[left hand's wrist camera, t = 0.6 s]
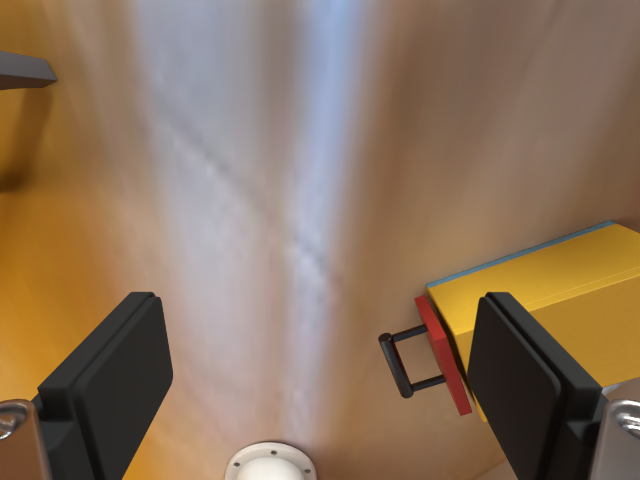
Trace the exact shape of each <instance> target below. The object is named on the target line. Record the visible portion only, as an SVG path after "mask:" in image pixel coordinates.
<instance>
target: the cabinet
mask: <svg viewBox="0 0 640 480" xmlns="http://www.w3.org/2000/svg"><path fill="white" fill-rule="evenodd" d="M426 286H427V289H428V292H429V295H430V298H431V301H432V304H433V307H434V310H435V313H436V316H437V319H438V321H439V323H440V325H441V327H442V329H443V331H444V333H445V334H446V336H447V339H448V342H449V345H450V348H451V351H452V354H453V357H454V360H455V363H456V366H457V369H458V372H459V375H460V377H461V379H462V381H463V383H464V385H465V387H466V389H467V391H468V393H469V395H470V397H471V399H472V401H473V403H474V405H475V407H476V409H477V411H478V413H479V414H480V417H481V418H482V420H483V422H487V419H486V417H485V415H484V413H483V411H482V409H481V407H480V405H479V403H478V401H477V399H476V398H475V396H474V394H473V392H472V390H471V388H470V386H469V384H468V380H467V369H468V363H469V357H470V350H471V344H472V338H473V332H474V326H475V320H476V313H477V307H478V302H479V299H480V297H485V294H486V293H487V292H509V293H510V294H511V295H512V296H513V297H514V298H515V299H516V300H517V301H518V302H519V303H520V304H521V305H522V306H523V307H524V308H525V309H526V310H527V311H528V312H529V313H530V314H531V315H532V316H533V317H534V318H535V319H536V320H537V321H538V322H539V323H540V324H541V325H542V326H543V327H544V328H545V329H546V330H547V331H548V332H549V333H550V334H551V335H552V337H553V338H554V339H555V340H556V341H557V342H558V343H559V344H560V345H561V346H562V347H563V348H564V349H565V350H566V351H567V352H568V353H569V354H570V355H571V356H572V357H573V358H574V359H575V360H576V361H577V362H578V363H579V364H580V365H581V366H582V367H583V368H584V369H585V370H586V371H587V372H588V373H589V374H590V375H591V376H592V377H593V378H594V379H595V380H596V381H597V382H598V383H599V384H600V386H601V387H602V388H603V387H607V386H610V385H613V384H617V383H620V382H624V381H627V380H630V379H634V378H637V377H640V233H638V232H635V231H633V230H631V229H628V228H626V227H623V226H621V225H619V224H617V223H615V222H613V221H607V222H604V223H601V224H599V225H596V226H593V227H590V228H587V229H584V230H581V231H578V232H576V233H573V234H570V235H567V236H564V237H561V238H558V239H555V240H553V241H550V242H547V243H544V244H541V245H538V246H535V247H532V248H530V249H527V250H524V251H521V252H518V253H515V254H512V255H509V256H506V257H504V258H501V259H498V260H495V261H492V262H489V263H486V264H483V265H481V266H478V267H475V268H472V269H469V270H466V271H463V272H460V273H458V274H455V275H452V276H449V277H446V278H443V279H440V280H437V281H435V282H432V283H429V284H426ZM452 334H453V335H452ZM453 336H454V338H455V341H456V344H457V347H458V350H459V353H458V350H457V347H456V344H455V341H454V338H453ZM459 354H460V355H459Z"/></svg>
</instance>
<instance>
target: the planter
mask: <svg viewBox="0 0 640 480" xmlns="http://www.w3.org/2000/svg"><path fill="white" fill-rule="evenodd" d="M56 81H57V79H56V77H55V75H54V74H53V72H52V70H51V69H50V67H49V65H48V63H47V62H46V60H45V59H40V58H35V57H29V56H24V55H19V54H13V53H8V52H2V51H0V90H7V89H18V88H43V87H45V86H47V85H50V84H52V83H54V82H56Z"/></svg>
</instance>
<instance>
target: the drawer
mask: <svg viewBox="0 0 640 480" xmlns="http://www.w3.org/2000/svg"><path fill="white" fill-rule="evenodd" d="M415 302H416V305H417V308H418V310H419V313H420V316H421V319H422V322H423V325H420V326H417V327H414V328H411V329H408V330H405V331H402V332H399V333H396V334H393V335H391V334H390V333H384V334H382V335H380V336H379V338H378V340H379V343H380V345H381V348H382V350H383V352H384V355H385V357H386V360H387V362H388V365H389V367H390V370H391V372H392V374H393V377H394V379H395V382H396V384H397V387H398V389H399V391H400V394H401V396H402V397H403V398H410V397H411V396H412V395H413V394H414V392H415V391H418V390H421V389H424V388H427V387H431V386H434V385H437V384H440V383H444V382H446V384H447V386H448V389H449V391H450V393H451V395H452V398H453V400H454V402H455V404H456V407H457V409H458V411H459V413H460V415H461V416H462V415H465V414H468V413H472V410H471V407H470V404H469V401H468V398H467V395H466V392H465V389H464V386H463V384H462V381H461V378H460V375H459V372H458V369H457V366H456V363H455V360H454V357H453V354H452V351H451V348H450V345H449V342H448V339H447V336H446V334H445V333H444V331H443V329H442V327H441V325H440V323H439V321H438V319H437V318H436V316H435V314H434V312H433V310H432V308H431V306H430V304H429V303H428V301H427V299H426V297H425V295H423V296H420V297H417V298H415ZM425 332H426V333H427V336H428V338H429V341H430V344H431V347H432V350H433V352H434V355H435V358H436V361H437V364H438V366H439V368H440V371H441V373H442V375H439V376H436V377H433V378H430V379H427V380H423V381H420V382H417V383H414V384H411V383H410V381H409V378H408V376H407V373H406V371H405V368H404V366H403V363H402V361H401V358H400V355H399V353H398V350H397V348H396V345H395V343H394V342H397V341H400V340H403V339H406V338H409V337H412V336H415V335H418V334H422V333H425ZM452 335H453V334H452ZM453 338H454V336H453ZM454 341H455V338H454ZM455 344H456V341H455ZM456 347H457V344H456ZM457 350H458V347H457ZM458 353H459V350H458ZM459 355H460V354H459Z"/></svg>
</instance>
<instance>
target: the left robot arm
mask: <svg viewBox="0 0 640 480" xmlns="http://www.w3.org/2000/svg"><path fill="white" fill-rule="evenodd" d="M172 380H173V369H172V363H171V357H170V351H169V344H168V338H167V332H166V326H165V320H164V313H163V307H162V302H161V299H160V297H155V294H154V293H153V292H131V293H130V294H129V295H128V296H127V297H126V298H125V299H124V300H123V301H122V302H121V303H120V304H119V305H118V306H117V307H116V308H115V309H114V310H113V311H112V312H111V313H110V314H109V315H108V316H107V317H106V318H105V319H104V320H103V321H102V322H101V323H100V324H99V325H98V326H97V327H96V328H95V329H94V330H93V331H92V332H91V333H90V334H89V335H88V337H87V338H86V339H85V340H84V341H83V342H82V343H81V344H80V345H79V346H78V347H77V348H76V349H75V350H74V351H73V352H72V353H71V354H70V355H69V356H68V357H67V358H66V359H65V360H64V361H63V362H62V363H61V364H60V365H59V366H58V367H57V368H56V369H55V370H54V371H53V372H52V373H51V374H50V375H49V376H48V377H47V378H46V379H45V380H44V381H43V382H42V383H41V384H40V386H39V387H38V388H37V389H38V392H39V393H38V394H37V395H36V396H35V397H34V398H33V399H32V400H31V401H28V400H26V399H12V400H5V401H2V402H0V480H122V478H123V476H124V474H125V472H126V470H127V468H128V467H129V465H130V463H131V461H132V459H133V457H134V455H135V453H136V451H137V449H138V447H139V445H140V444H141V442H142V440H143V438H144V436H145V434H146V432H147V430H148V428H149V426H150V424H151V422H152V421H153V419H154V417H155V415H156V413H157V411H158V409H159V407H160V405H161V403H162V401H163V399H164V398H165V396H166V394H167V392H168V390H169V388H170V386H171V384H172ZM467 380H468V384H469V386H470V388H471V390H472V392H473V394H474V396H475V398H476V399H477V401H478V403H479V405H480V407H481V409H482V411H483V413H484V415H485V417H486V419H487V421H488V422H489V424H490V426H491V428H492V430H493V432H494V434H495V436H496V438H497V440H498V442H499V444H500V445H501V447H502V449H503V451H504V453H505V455H506V457H507V459H508V461H509V463H510V465H511V467H512V468H513V470H514V472H515V474H516V476H517V478H518V480H640V402H638V401H635V400H628V399H614V400H612V401H608V399H607V398H606V397H605V396H604V395H603V394H602V393H601V392H602V389H603V388H602V387H601V386H600V384H599V383H598V382H597V381H596V380H595V379H594V378H593V377H592V376H591V375H590V374H589V373H588V372H587V371H586V370H585V369H584V368H583V367H582V366H581V365H580V364H579V363H578V362H577V361H576V360H575V359H574V358H573V357H572V356H571V355H570V354H569V353H568V352H567V351H566V350H565V349H564V348H563V347H562V346H561V345H560V344H559V343H558V342H557V341H556V340H555V339H554V338H553V337H552V335H551V334H550V333H549V332H548V331H547V330H546V329H545V328H544V327H543V326H542V325H541V324H540V323H539V322H538V321H537V320H536V319H535V318H534V317H533V316H532V315H531V314H530V313H529V312H528V311H527V310H526V309H525V308H524V307H523V306H522V305H521V304H520V303H519V302H518V301H517V300H516V299H515V298H514V297H513V296H512V295H511V294H510V293H509V292H487V293H486V294H485V297H480V299H479V302H478V307H477V313H476V320H475V326H474V332H473V338H472V344H471V350H470V357H469V363H468V369H467ZM225 480H317V476H316V470H315V467H314V465H313V463H312V462H311V460H310V459H309V458H308V457H307V456H306V455H305V454H304V453H302V452H301V451H299V450H298V449H296V448H293V447H291V446H288V445H285V444H281V443H273V442H271V443H259V444H254V445H251V446H248V447H246V448H244V449H242V450H240V451H239V452H238V453H236V454H235V455H234V456H233V457H232V459H231V460H230V462H229V464H228V466H227V469H226V473H225Z"/></svg>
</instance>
